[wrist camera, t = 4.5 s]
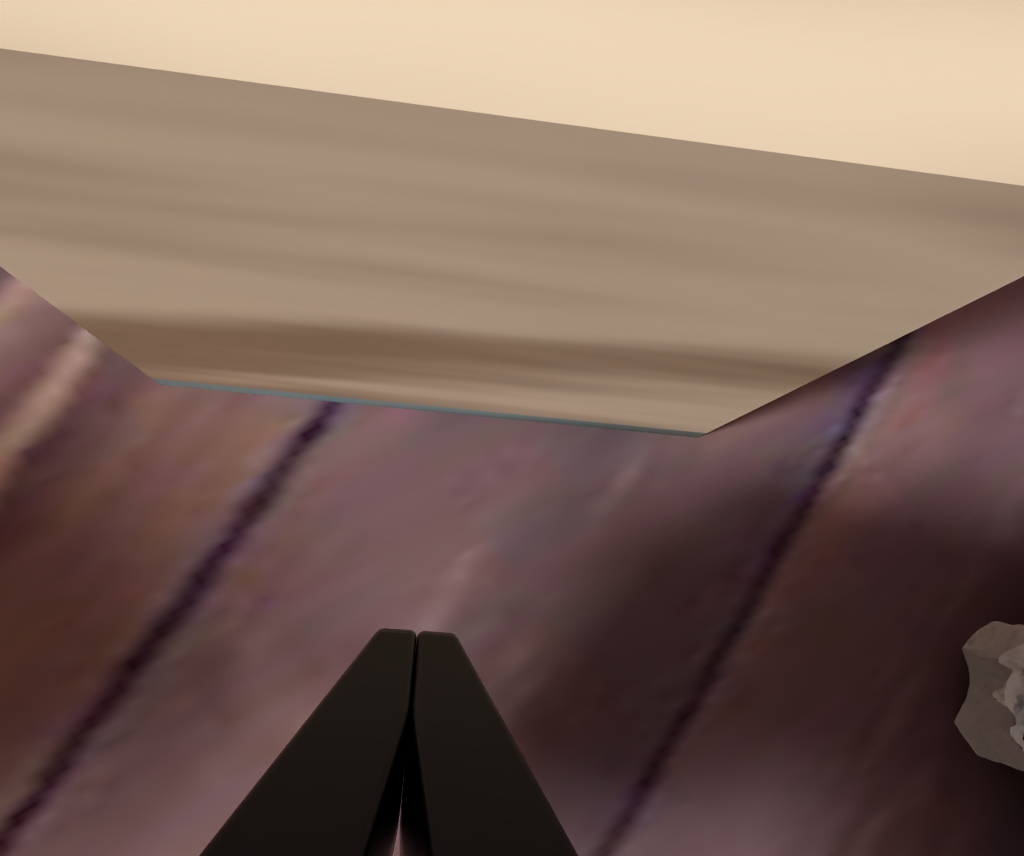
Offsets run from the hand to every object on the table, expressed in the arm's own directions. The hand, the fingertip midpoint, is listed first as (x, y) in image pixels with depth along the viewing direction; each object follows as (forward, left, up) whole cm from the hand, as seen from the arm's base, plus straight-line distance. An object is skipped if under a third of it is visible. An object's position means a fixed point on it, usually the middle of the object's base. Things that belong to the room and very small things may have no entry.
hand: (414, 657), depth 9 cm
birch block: (+6, -3, -9) cm, 11 cm away
